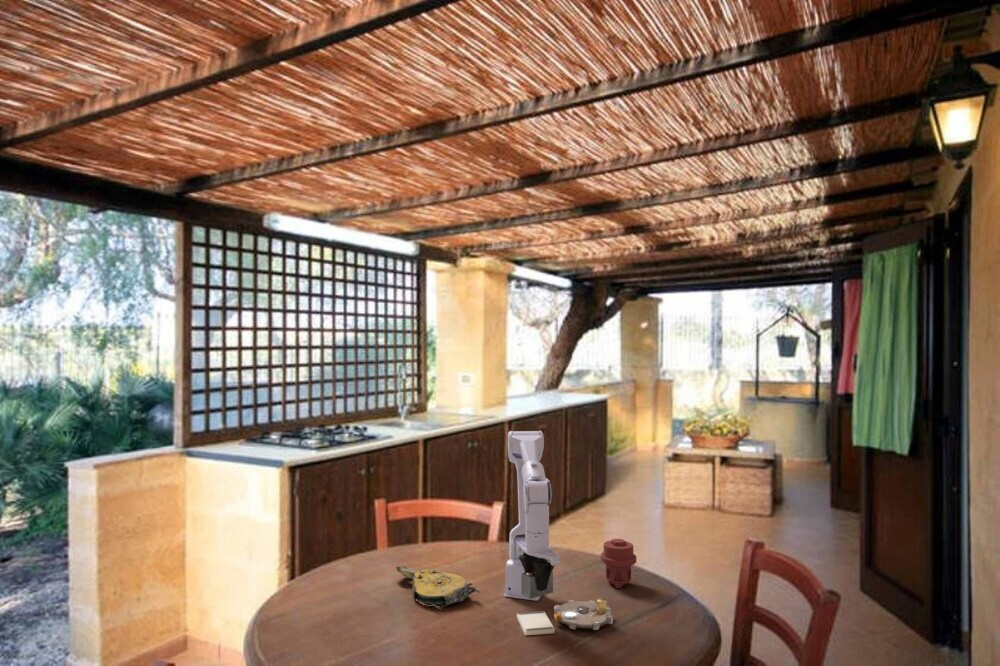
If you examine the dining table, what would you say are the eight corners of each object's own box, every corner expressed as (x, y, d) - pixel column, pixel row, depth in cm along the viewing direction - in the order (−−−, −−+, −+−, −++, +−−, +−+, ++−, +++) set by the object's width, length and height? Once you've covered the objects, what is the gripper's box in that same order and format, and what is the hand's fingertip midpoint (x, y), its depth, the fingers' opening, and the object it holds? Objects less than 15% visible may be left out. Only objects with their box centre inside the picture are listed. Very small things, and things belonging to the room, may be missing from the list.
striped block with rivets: (544, 588, 156) (544, 566, 156) (553, 592, 153) (553, 570, 153) (521, 594, 152) (521, 572, 152) (530, 598, 149) (530, 576, 149)
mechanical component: (636, 579, 182) (636, 592, 173) (601, 577, 184) (600, 589, 175) (636, 536, 183) (636, 546, 173) (601, 534, 185) (599, 544, 175)
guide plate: (516, 617, 156) (516, 612, 156) (544, 615, 157) (544, 610, 157) (525, 635, 146) (525, 630, 146) (554, 633, 147) (554, 628, 147)
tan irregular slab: (423, 550, 189) (481, 578, 166) (425, 569, 190) (484, 600, 166) (381, 567, 181) (436, 599, 157) (383, 586, 181) (439, 622, 157)
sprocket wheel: (544, 609, 158) (543, 591, 158) (596, 602, 163) (596, 584, 163) (567, 634, 144) (567, 614, 145) (624, 625, 149) (624, 606, 149)
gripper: (569, 534, 149) (569, 593, 148) (532, 521, 161) (532, 575, 160) (546, 539, 145) (546, 599, 144) (509, 525, 157) (509, 581, 156)
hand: (537, 587), depth 152 cm, fingers closed on striped block with rivets, 3 cm apart
